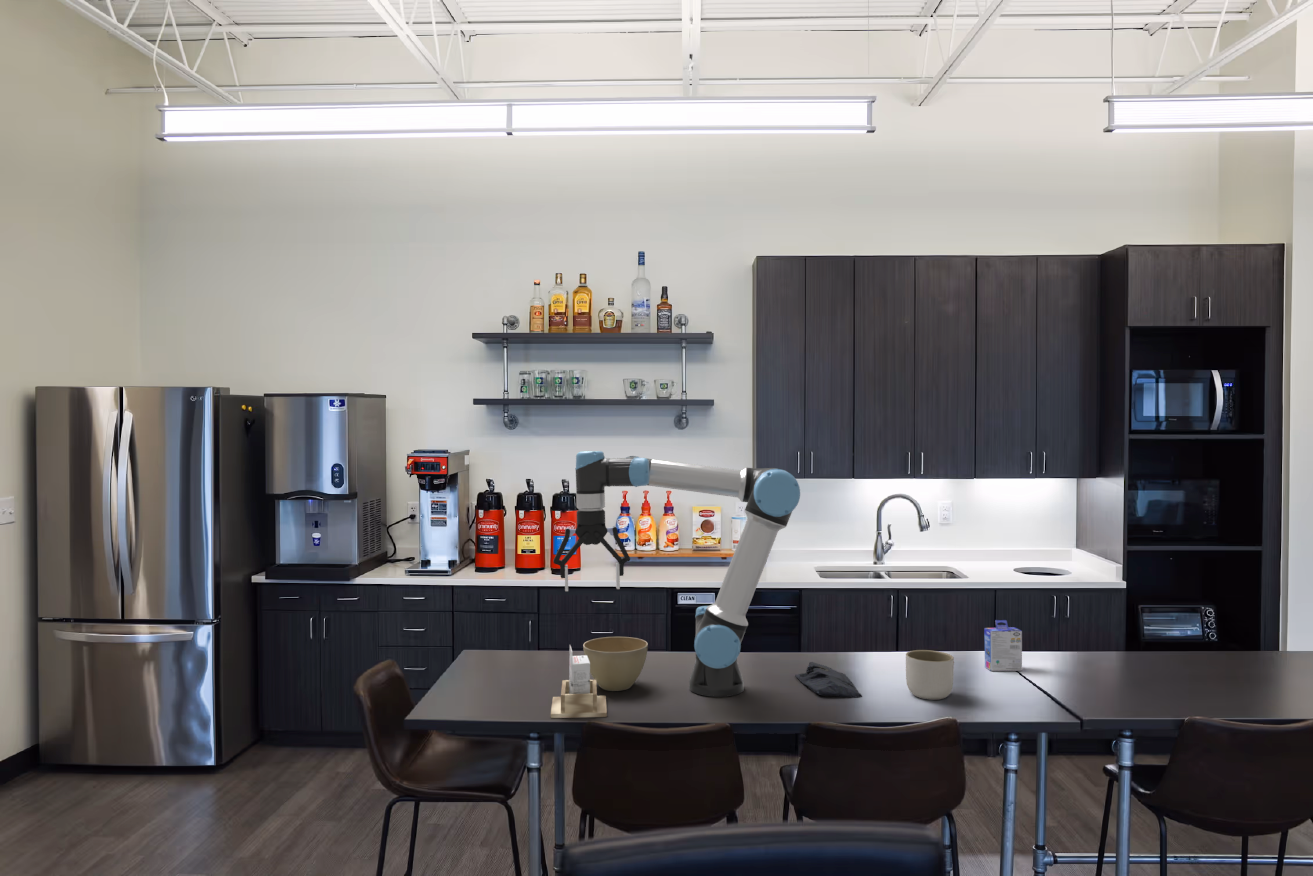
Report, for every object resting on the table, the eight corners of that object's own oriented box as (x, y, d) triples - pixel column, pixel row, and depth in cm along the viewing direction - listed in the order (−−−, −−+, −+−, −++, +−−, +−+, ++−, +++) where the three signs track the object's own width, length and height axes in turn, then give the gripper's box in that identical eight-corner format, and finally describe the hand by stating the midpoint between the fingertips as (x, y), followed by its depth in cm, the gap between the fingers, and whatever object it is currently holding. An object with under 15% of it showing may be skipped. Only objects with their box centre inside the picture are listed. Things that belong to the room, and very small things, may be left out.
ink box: (590, 709, 216) (591, 651, 216) (571, 710, 215) (571, 652, 215) (587, 699, 225) (587, 643, 225) (568, 700, 224) (568, 644, 224)
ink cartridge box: (1014, 666, 261) (1015, 619, 261) (1023, 671, 256) (1023, 623, 256) (983, 666, 261) (983, 619, 261) (990, 671, 256) (991, 623, 256)
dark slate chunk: (809, 700, 229) (809, 682, 229) (793, 677, 251) (793, 660, 251) (865, 699, 230) (866, 682, 230) (844, 676, 252) (844, 660, 252)
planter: (904, 699, 228) (904, 659, 228) (907, 687, 240) (907, 648, 240) (953, 705, 224) (953, 663, 224) (953, 691, 236) (954, 652, 236)
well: (605, 699, 228) (605, 678, 228) (606, 716, 214) (606, 694, 214) (552, 700, 226) (552, 680, 226) (550, 718, 213) (550, 696, 213)
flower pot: (640, 676, 250) (640, 634, 250) (653, 694, 232) (653, 650, 232) (579, 679, 246) (579, 637, 246) (587, 699, 228) (587, 653, 228)
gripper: (636, 506, 231) (637, 584, 231) (543, 509, 228) (545, 588, 228) (639, 509, 224) (640, 589, 224) (543, 512, 220) (544, 594, 220)
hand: (592, 589), depth 226 cm, fingers open, 13 cm apart
